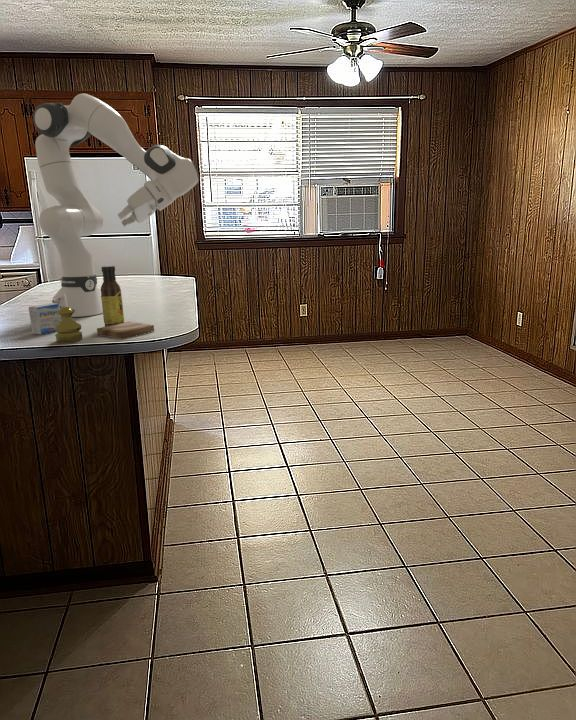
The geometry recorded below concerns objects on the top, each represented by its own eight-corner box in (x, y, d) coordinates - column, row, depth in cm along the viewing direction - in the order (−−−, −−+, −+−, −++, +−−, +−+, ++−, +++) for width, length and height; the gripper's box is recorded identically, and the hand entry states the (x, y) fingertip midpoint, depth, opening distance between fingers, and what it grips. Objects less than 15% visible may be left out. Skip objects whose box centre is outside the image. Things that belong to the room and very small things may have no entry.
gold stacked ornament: (74, 343, 162) (70, 309, 159) (51, 343, 163) (46, 309, 160) (87, 337, 169) (83, 304, 166) (65, 337, 170) (60, 304, 167)
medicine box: (40, 335, 175) (36, 307, 173) (32, 333, 177) (27, 306, 175) (62, 330, 181) (58, 303, 179) (53, 329, 184) (50, 302, 181)
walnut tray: (97, 334, 172) (96, 328, 172) (129, 327, 182) (128, 321, 181) (122, 339, 165) (122, 331, 165) (154, 331, 175) (153, 324, 174)
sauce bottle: (126, 329, 180) (119, 266, 174) (106, 331, 177) (98, 267, 172) (123, 325, 185) (116, 264, 180) (103, 327, 183) (96, 266, 178)
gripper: (152, 197, 192) (118, 220, 190) (147, 178, 172) (110, 204, 170) (163, 212, 193) (130, 236, 191) (160, 195, 172) (123, 221, 171)
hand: (121, 221), depth 180 cm, fingers open, 8 cm apart
